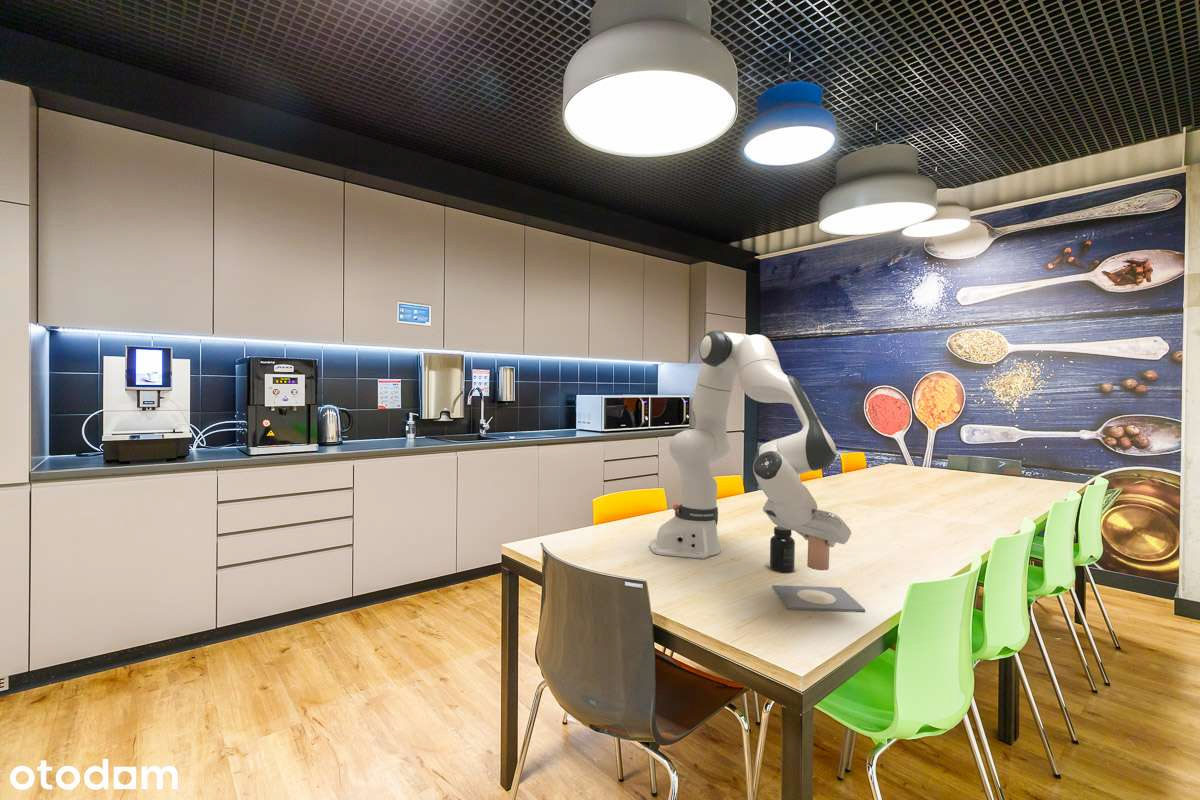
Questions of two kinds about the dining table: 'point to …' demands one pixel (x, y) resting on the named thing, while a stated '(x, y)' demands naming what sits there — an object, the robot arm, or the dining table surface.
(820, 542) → the terracotta tube
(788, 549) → the supplement bottle
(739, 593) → the dining table surface
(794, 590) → the card
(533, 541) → the dining table surface
